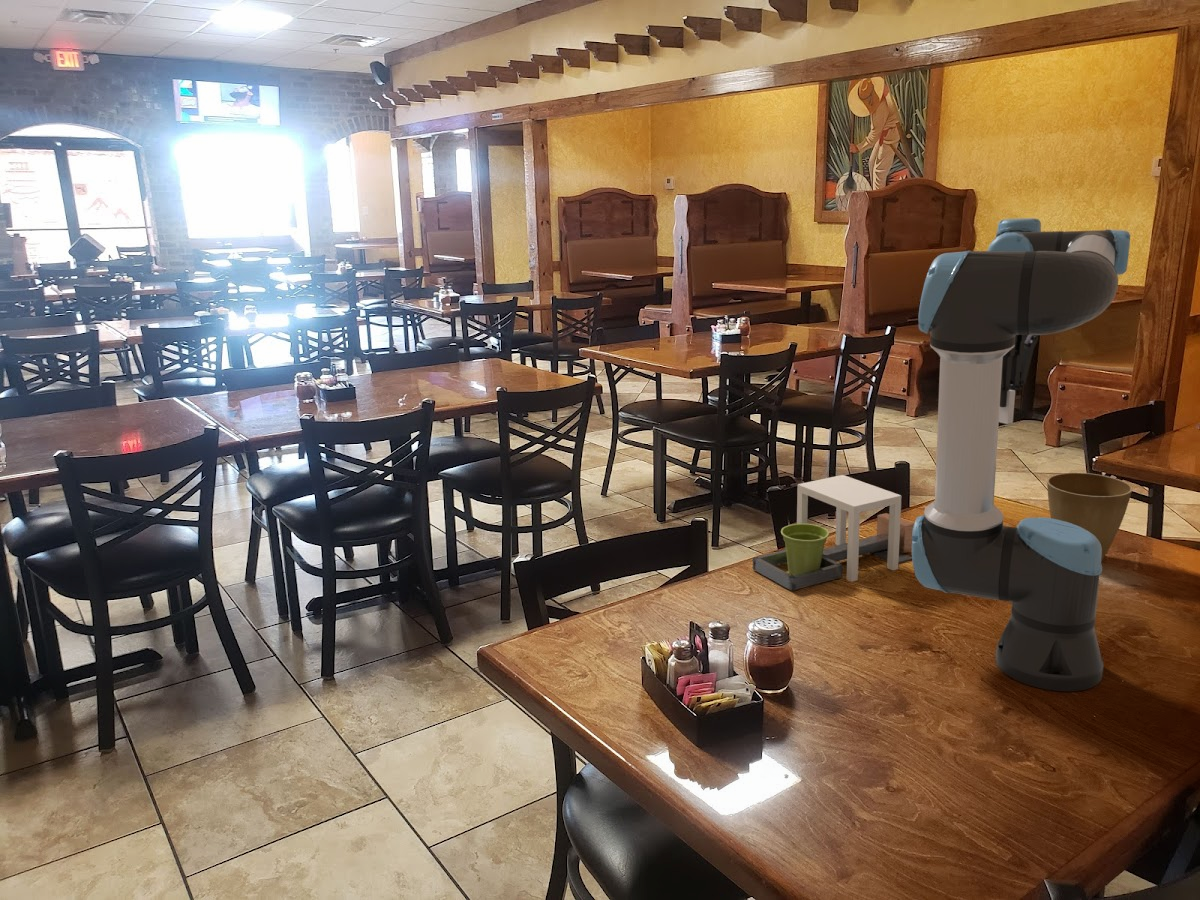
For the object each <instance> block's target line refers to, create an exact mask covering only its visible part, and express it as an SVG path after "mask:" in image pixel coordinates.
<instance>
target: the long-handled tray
mask: <svg viewBox="0 0 1200 900" xmlns="http://www.w3.org/2000/svg"><path fill="white" fill-rule="evenodd" d="M876 517H877V518H876V520H877V521H876V535H873V536H868V537H865V538H861V539H860V538H859V555H858V557H860V556H863V555H867V554H870V553H872V552H875V553H877V552H876V551H879V550H883V549H887V548H888V534H889V513H887V512H885V513H882V514H881V513H880V514H878V515H877V516H876ZM914 523H915V522H914ZM914 523H913V522H911V521H908V520H906V519H903V518H901V517H900V538H899V552H900V553H902V554H905V553H910V552H912V541H913V539H912V532H913V526H914ZM847 545H848V542H846V543H844V544H840V545H833V546H829V547H824V549H823V554H822V560H821V566H820V569H816V570H813V571H809V572H805V573H801V574H797V575H792V574H791V573H788V572H787V571H785V570H782V569H781V568H780V567H777V566H780V565H784V564H788V563H787V554H786V549H782V550H778V551H774V552H771V553H766V554H763V555H764V556H763V555H758V556H754V557H752V570H753V571H755V572H757V573H758V574H761V575H762V576H764V577H767V579H770V580H772V581H774V582H775V583H777V584H779V585H780V586H782V587H784V588H786V589H788V590H789V591H791V592H792V591H796V590H800V589H803V588H806V587H807V588H808V587H810V586H811V587H812V586H813V585H818V584H822V583H825V582H828V581H832V580H836V579H839V578H843V574H844V573H843V572H844V571H843V570H844V565H843V564H842V563H840V562H841V561H844V560H845V561H846V560H847ZM887 550H888V549H887ZM883 551H884V550H883ZM879 552H880V551H879ZM872 554H873V553H872Z"/></svg>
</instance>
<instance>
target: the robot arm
mask: <svg viewBox="0 0 1200 900" xmlns="http://www.w3.org/2000/svg"><path fill="white" fill-rule="evenodd" d="M1041 230H1042V222H1041V220H1040V219H1038V218H1031V217H1029V218H1027V217H1026V218H1007V219H1006V218H1005V219H1001V220H1000V221H999V222H998V224H997V230H996V234H995V237H994V239H993V240H992V241H991V243H990V244H989V246H988V248H987V251H986V250H985V251H984V250H981V251H980V250H977V251H976V250H972V251H971V250H965V251H956V252H955V251H953V252H945V253H942V254H939V255H937V257H935V258H934V259H933V260H932V262H931V265H929V269H928V272H927V274H926V277H925V280H924V283H923V288H922V292H921V297H920V300H919V301H920V303H919V307H918V308H919V309H918V310H919V311H918V330H919V331H920V332H922V333H924V334H926V335H927V334H930V335H929V346H930V348H931V349H933V351H934V352H936V353H937V355H938V356H939V358H940V359H939V361H940V362H939V380H938V381H939V383H938V406H937V408H938V411H937V413H938V414H937V430H936V431H937V433H936V434H937V435H936V436H937V438H936V458H935V460H936V461H935V487H934V490H935V491H934V500H933V501H932V502H931V503H929V504H928V505H927V506H926V507H925V508H924V510H923V511H924V512H923V515H919V516H917V517H916V519H915V520H914V526H913V532H912V539H913V541H912V551H911V558H912V560H911V561H912V566H913V571H914V575H915V578H916V579H917V581H918V582H919V584H921V585H922V586H923V587H925V588H928V589H932V590H936V591H940V592H943V593H946V594H951V593H952V594H958V595H965V596H971V597H976V598H977V597H978V598H983V599H989V600H995V601H996V600H997V601H1002V602H1003V601H1004V602H1010V603H1011V613H1010V614H1011V615H1010V617H1009V619H1008V621H1007V623H1006V626H1005V627H1004V630H1003V632H1002V634H1001V636H1000V638H999V640H998V642H997V644H996V648H995V649H996V651H995V664H996V666H997V667H998V668H999V669H1000V671H1002V672H1003V673H1004V675H1007V676H1008V677H1009V678H1012V679H1014V680H1015V681H1018V682H1020V683H1023V684H1024V685H1028V686H1030V687H1034V688H1039V689H1043V690H1047V691H1048V690H1049V691H1057V692H1078V691H1085V690H1089V689H1092V688H1094V687H1096V686H1098V684H1100V683H1101V682H1102V679H1103V673H1104V661H1103V660H1104V659H1103V658H1102V655H1101V651H1100V647H1099V642H1098V637H1097V635H1096V631H1095V624H1096V614H1097V606H1098V595H1099V584H1100V575H1101V574H1102V572H1103V565H1102V561H1101V556H1102V547H1101V544H1100V542H1099V540H1098V539H1097V538H1096V537H1095V536H1094V535H1093V534H1092V533H1090V532H1089V531H1087V530H1085V529H1083V528H1081V527H1079V526H1077V525H1074V524H1071V523H1068V522H1065V521H1061V520H1057V519H1052V518H1051V517H1043V516H1042V517H1041V516H1039V517H1032V516H1031V517H1026V518H1023V519H1021V520H1020V521H1019V523H1018V524H1017V525H1016V527H1015V526H1006V525H1003V524H1004V514H1003V512H1002V510H1001V509H1000V508H998V507H997V506H996V505H995V504H994V503H995V502H994V501H995V486H996V474H997V473H996V469H997V456H998V455H997V454H998V441H999V440H998V439H999V438H998V437H999V423H1002V424H1005V425H1009V424H1010V425H1011V424H1013V423H1014V412H1015V405H1016V400H1017V391H1021V390H1022V389H1023V386H1025V384H1026V382H1027V378H1028V374H1029V369H1030V366H1031V361H1032V357H1033V353H1034V348H1035V347H1036V345H1037V343H1038V341H1039V336H1043V335H1052V334H1057V333H1061V332H1064V331H1068V330H1072V329H1073V328H1076V327H1077V328H1078V327H1079V326H1081V325H1083V324H1085V323H1088V322H1090V321H1092V320H1093V319H1095V318H1096V317H1098V316H1100V315H1101V314H1103V312H1105V311H1106V310H1107V308H1108V307H1109V306H1110V305H1111V304H1112V302H1113V301H1114V299H1115V297H1116V295H1117V291H1118V288H1119V277H1118V276H1119V275H1123V274H1125V273H1127V270H1128V263H1129V255H1130V245H1131V233H1130V232H1129V231H1127V230H1125V229H1124V230H1122V229H1121V230H1119V229H1109V228H1108V229H1102V230H1100V229H1099V230H1075V231H1073V230H1072V231H1068V230H1067V231H1066V230H1065V231H1062V230H1061V231H1060V230H1058V231H1051V230H1050V231H1041Z"/></svg>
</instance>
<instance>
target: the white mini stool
mask: <svg viewBox="0 0 1200 900" xmlns="http://www.w3.org/2000/svg"><path fill="white" fill-rule="evenodd" d="M796 492H797V493H796V495H797V496H796V497H797V499H796V500H797V502H796V503H797V504H796V524H808V511H809V510H808V506H809V504H808V503H809V500H808V499H809V497H810V498H813V499H815V500H818V501H821V502H822V503H824V504H825V503H826V504H827V505H831V506H833V507H835V508H836V510H835V511H836V513H835V515H836V516H835V545H834V546H836V545H840V544H844V543H848V545H847V559H846V580H848V582H849V581H850V582H851V583H852V582H856V581H858V580H859V556H858V555H859V540H860V525H861V523H860V522H861V520H860V519H861V518H860V517H861V513H863V512H868V511H873V510H877V509H880V508H881V509H882V508H884V507H889V513H888V514H889V534H888V548H887V549H883V550H879V551H876V552H872V553H869V554H870V555H871V554H873V556H874V557H877V558H878V559H881V560H884V561H885V562H887V563H886V564H887V565H886V568H887V569H889V570H890V571H895V570H899V564H902V563H905V562H909V561H912V556H909V555H907V554H905V553H902V552H900V551H899V538H900V518H901V515H902V495H901V494H898V493H895V492H893V491H890V490H886V489H884V488H881V487H879V486H876V485H873V484H870V483H866V482H864V481H861V480H859V479H856V478H853V477H851V476H847V475H844V474H841V475H836V476H831V477H830V476H829V477H827V478H826V477H825V478H822V479H817V480H812V481H807V482H802V483H798V484H797V491H796ZM847 513H848V517H847ZM847 518H848V520H847ZM847 525H848V526H847ZM846 537H847V539H846ZM846 540H847V542H846Z"/></svg>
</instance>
